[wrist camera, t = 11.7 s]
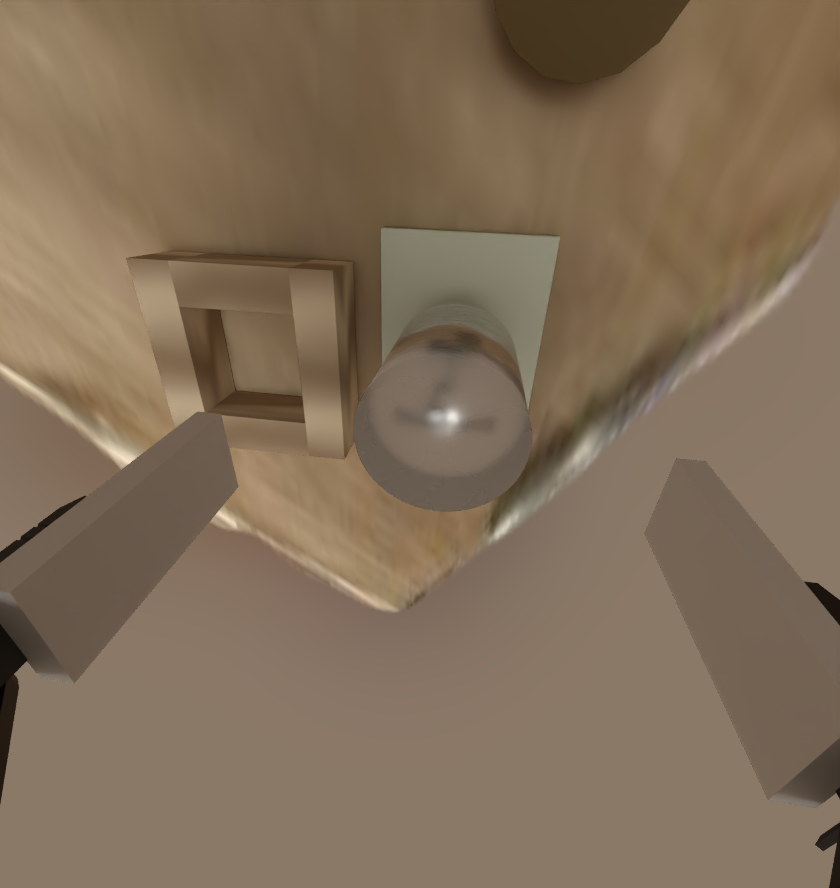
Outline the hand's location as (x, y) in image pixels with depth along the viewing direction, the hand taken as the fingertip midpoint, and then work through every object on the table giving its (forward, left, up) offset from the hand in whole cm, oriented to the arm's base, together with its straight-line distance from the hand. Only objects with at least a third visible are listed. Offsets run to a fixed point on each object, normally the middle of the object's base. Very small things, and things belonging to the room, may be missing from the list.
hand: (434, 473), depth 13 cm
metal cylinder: (0, 0, -16) cm, 16 cm away
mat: (0, 0, -17) cm, 17 cm away
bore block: (+2, -13, -17) cm, 21 cm away
